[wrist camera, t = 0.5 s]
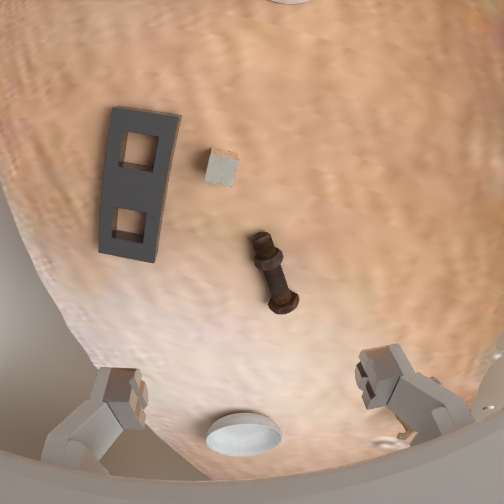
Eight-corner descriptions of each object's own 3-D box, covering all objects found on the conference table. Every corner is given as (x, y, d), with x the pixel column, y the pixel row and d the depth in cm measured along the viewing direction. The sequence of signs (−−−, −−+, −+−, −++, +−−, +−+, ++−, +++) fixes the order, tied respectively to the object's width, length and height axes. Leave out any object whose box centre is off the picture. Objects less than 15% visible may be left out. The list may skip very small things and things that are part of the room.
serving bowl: (211, 399, 76) (211, 421, 70) (288, 404, 80) (293, 425, 74) (201, 435, 86) (201, 454, 80) (268, 439, 90) (270, 457, 84)
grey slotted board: (119, 106, 42) (112, 107, 40) (181, 115, 44) (179, 117, 42) (103, 244, 53) (98, 252, 50) (157, 254, 55) (154, 263, 52)
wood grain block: (211, 147, 47) (210, 154, 43) (237, 153, 48) (238, 160, 44) (206, 172, 49) (204, 181, 45) (231, 177, 50) (232, 187, 45)
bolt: (262, 225, 56) (285, 292, 63) (238, 239, 54) (265, 307, 61) (282, 231, 51) (305, 303, 58) (258, 247, 50) (284, 319, 56)
